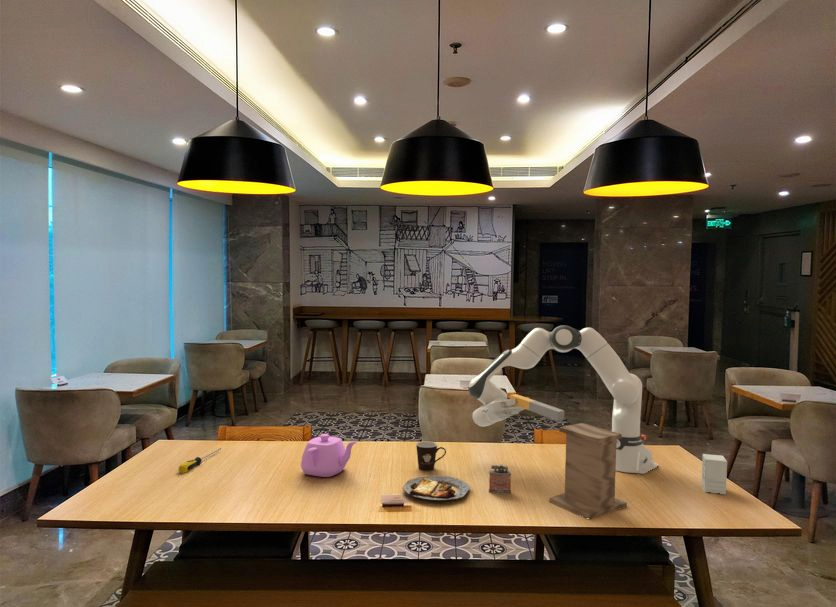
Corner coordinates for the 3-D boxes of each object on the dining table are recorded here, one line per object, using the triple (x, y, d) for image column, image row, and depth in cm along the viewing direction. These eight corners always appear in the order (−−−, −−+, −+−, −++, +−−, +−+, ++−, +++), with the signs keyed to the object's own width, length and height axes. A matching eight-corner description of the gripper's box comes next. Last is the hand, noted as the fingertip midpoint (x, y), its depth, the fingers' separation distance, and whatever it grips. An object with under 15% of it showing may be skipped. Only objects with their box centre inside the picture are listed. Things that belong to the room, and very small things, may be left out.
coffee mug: (412, 470, 229) (413, 445, 228) (420, 463, 237) (420, 440, 236) (439, 474, 224) (439, 449, 224) (446, 467, 232) (447, 443, 232)
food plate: (457, 509, 190) (457, 499, 190) (393, 499, 198) (393, 489, 198) (475, 486, 213) (475, 477, 213) (418, 478, 221) (418, 469, 221)
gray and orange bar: (515, 402, 228) (516, 394, 228) (564, 419, 207) (564, 410, 206) (509, 403, 227) (510, 394, 226) (557, 420, 205) (558, 411, 204)
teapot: (288, 479, 216) (289, 440, 216) (317, 462, 236) (317, 427, 235) (341, 487, 208) (341, 447, 208) (366, 470, 228) (366, 433, 227)
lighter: (510, 490, 208) (511, 464, 207) (511, 494, 204) (511, 467, 204) (488, 489, 208) (489, 463, 208) (488, 493, 205) (489, 466, 205)
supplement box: (722, 488, 214) (723, 455, 213) (726, 495, 207) (727, 461, 206) (701, 485, 216) (702, 453, 216) (704, 492, 209) (705, 458, 209)
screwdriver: (185, 465, 220) (224, 445, 250) (177, 465, 221) (217, 444, 250) (185, 474, 220) (224, 452, 250) (177, 473, 221) (217, 452, 250)
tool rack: (587, 490, 209) (589, 421, 208) (626, 506, 194) (629, 432, 193) (549, 501, 198) (551, 428, 197) (587, 519, 184) (590, 440, 183)
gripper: (478, 404, 230) (498, 395, 219) (515, 399, 241) (536, 390, 230) (482, 419, 228) (502, 410, 217) (519, 413, 239) (541, 404, 228)
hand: (520, 400), depth 224 cm, fingers closed on gray and orange bar, 3 cm apart
